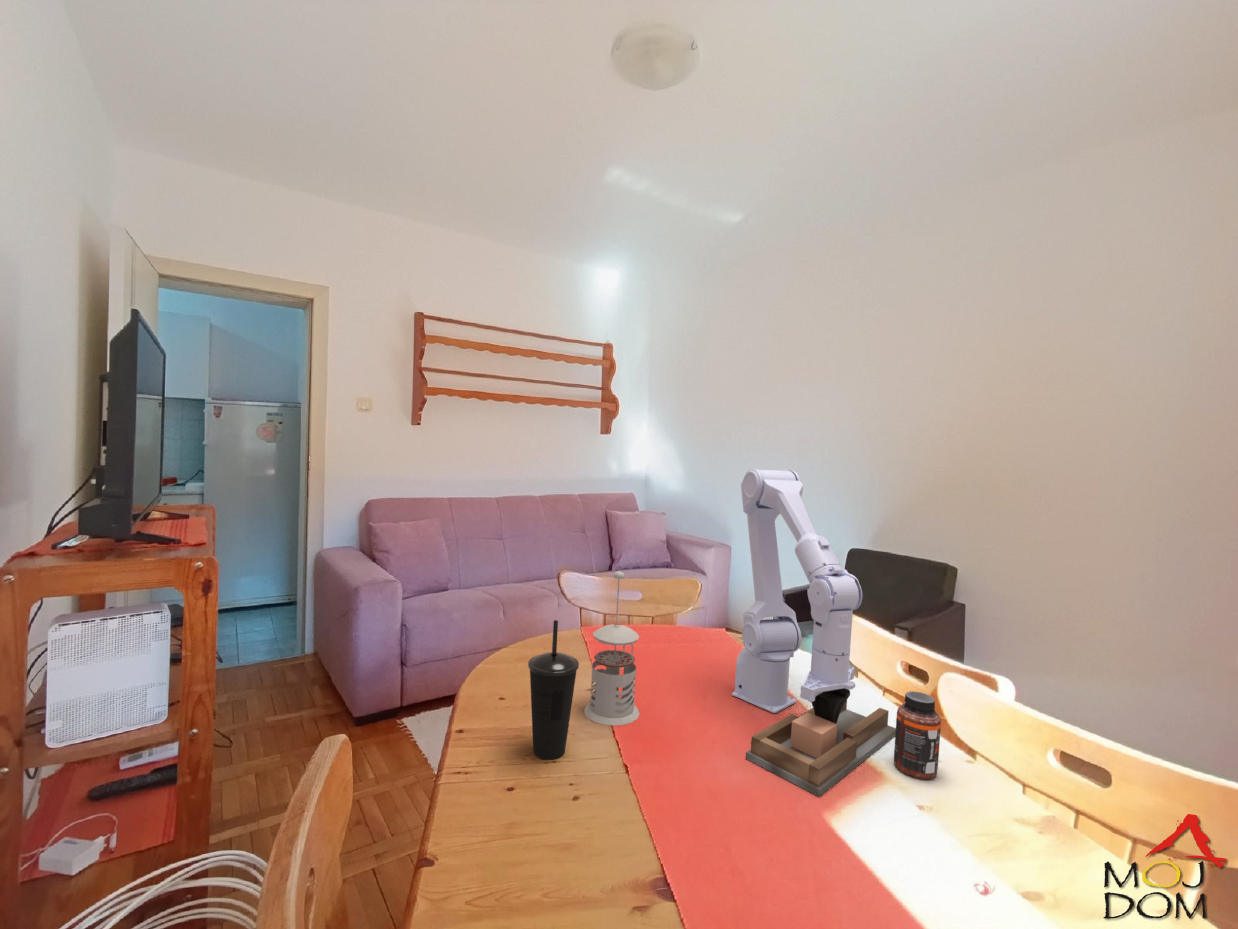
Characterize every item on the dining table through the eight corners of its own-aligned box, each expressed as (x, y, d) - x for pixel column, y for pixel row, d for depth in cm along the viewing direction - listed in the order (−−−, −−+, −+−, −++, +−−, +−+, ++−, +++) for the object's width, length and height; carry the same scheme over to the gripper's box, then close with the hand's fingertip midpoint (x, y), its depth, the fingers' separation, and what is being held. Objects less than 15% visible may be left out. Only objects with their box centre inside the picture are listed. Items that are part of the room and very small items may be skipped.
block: (790, 746, 88) (791, 721, 88) (806, 736, 91) (807, 712, 91) (820, 760, 84) (822, 734, 84) (835, 749, 88) (837, 724, 88)
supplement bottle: (943, 784, 82) (949, 708, 81) (899, 777, 83) (904, 702, 82) (929, 762, 88) (934, 691, 87) (888, 756, 89) (893, 685, 88)
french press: (574, 717, 96) (581, 572, 95) (601, 691, 107) (608, 561, 106) (627, 731, 92) (635, 580, 91) (650, 702, 103) (657, 568, 102)
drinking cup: (583, 746, 87) (589, 619, 86) (557, 771, 80) (564, 632, 79) (541, 733, 90) (547, 610, 89) (513, 756, 83) (520, 623, 82)
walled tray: (745, 758, 86) (746, 736, 86) (829, 708, 104) (831, 689, 104) (819, 797, 77) (820, 772, 77) (896, 734, 96) (898, 714, 96)
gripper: (833, 667, 82) (827, 758, 82) (874, 647, 92) (869, 728, 92) (790, 653, 87) (785, 738, 88) (833, 635, 97) (828, 712, 98)
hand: (825, 732), depth 90 cm, fingers closed
